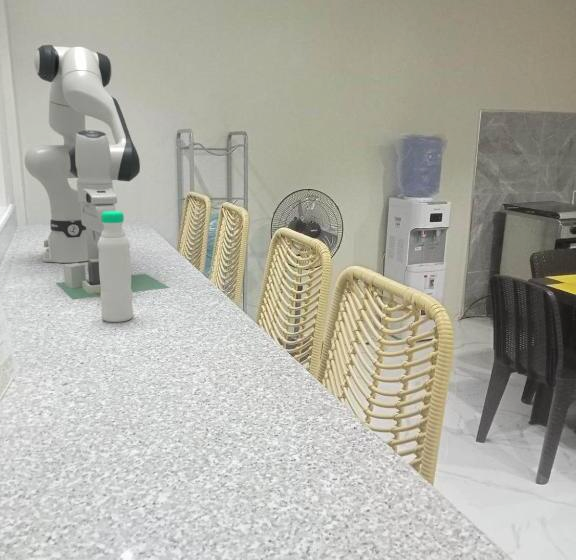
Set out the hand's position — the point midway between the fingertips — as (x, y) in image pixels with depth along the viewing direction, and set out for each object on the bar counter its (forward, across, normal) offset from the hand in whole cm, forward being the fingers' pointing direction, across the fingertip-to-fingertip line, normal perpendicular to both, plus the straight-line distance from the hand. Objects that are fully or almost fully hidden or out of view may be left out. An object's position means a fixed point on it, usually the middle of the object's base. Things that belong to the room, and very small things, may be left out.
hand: (98, 246), depth 152 cm
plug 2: (+12, 0, 0) cm, 12 cm away
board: (+13, -3, +4) cm, 14 cm away
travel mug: (+13, -23, +6) cm, 27 cm away
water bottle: (+13, +25, -3) cm, 28 cm away
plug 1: (+12, -7, -5) cm, 15 cm away
